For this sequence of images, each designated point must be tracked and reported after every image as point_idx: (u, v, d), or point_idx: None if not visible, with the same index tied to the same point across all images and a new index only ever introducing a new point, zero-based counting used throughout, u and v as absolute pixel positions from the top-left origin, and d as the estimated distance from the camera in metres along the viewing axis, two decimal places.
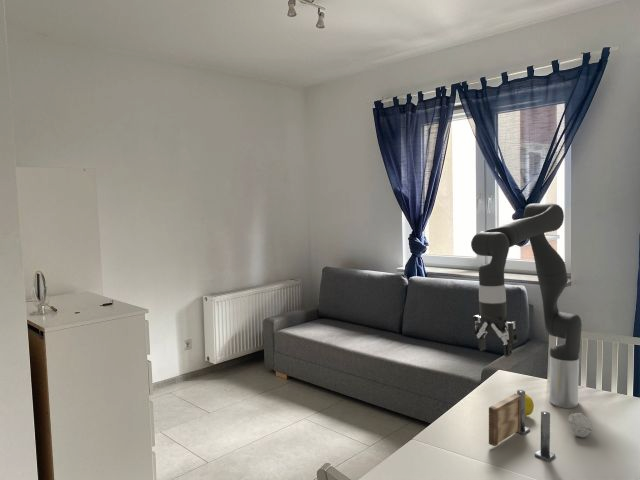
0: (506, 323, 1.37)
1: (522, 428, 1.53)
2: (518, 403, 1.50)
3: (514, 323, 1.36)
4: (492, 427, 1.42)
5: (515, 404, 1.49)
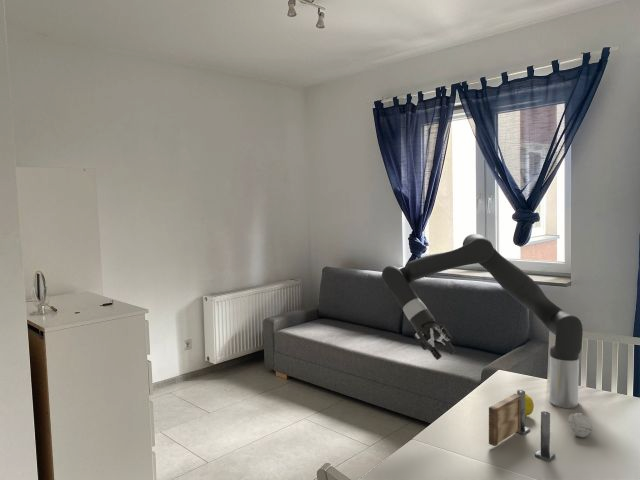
0: None
1: (522, 428, 1.53)
2: (518, 403, 1.50)
3: (417, 333, 1.57)
4: (492, 427, 1.42)
5: (515, 404, 1.49)
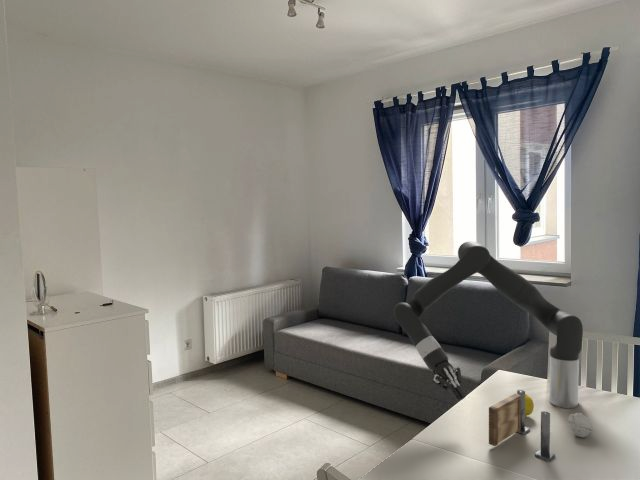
0: None
1: (522, 428, 1.53)
2: (518, 403, 1.50)
3: (435, 379, 1.54)
4: (492, 427, 1.42)
5: (515, 404, 1.49)
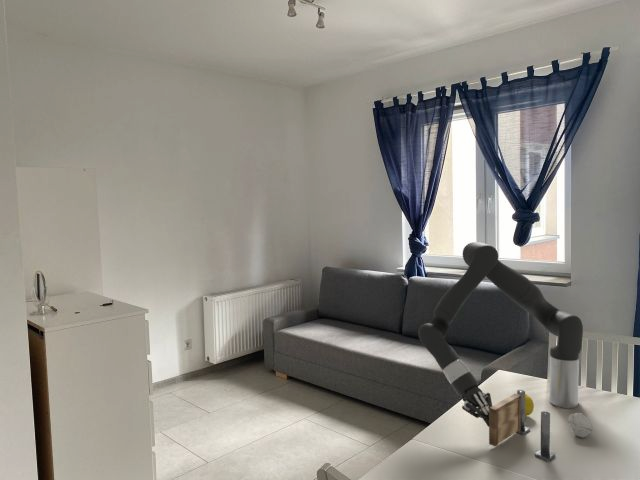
0: None
1: (522, 428, 1.53)
2: (518, 403, 1.50)
3: (466, 406, 1.46)
4: (493, 428, 1.42)
5: (515, 404, 1.49)
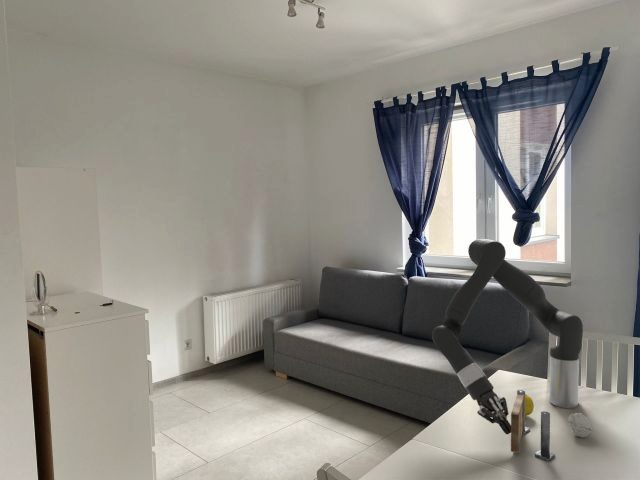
0: None
1: None
2: (522, 403, 1.50)
3: (481, 411, 1.42)
4: (516, 434, 1.38)
5: None
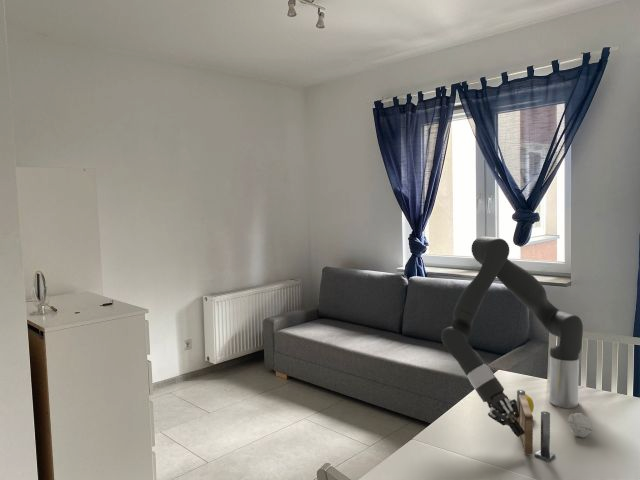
0: None
1: None
2: None
3: (492, 413, 1.41)
4: (530, 436, 1.37)
5: None
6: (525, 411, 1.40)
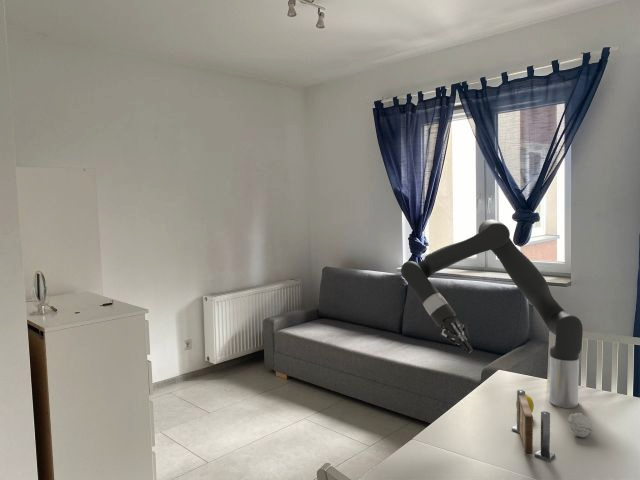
0: None
1: None
2: None
3: (443, 333, 1.57)
4: (530, 436, 1.37)
5: None
6: (525, 411, 1.40)
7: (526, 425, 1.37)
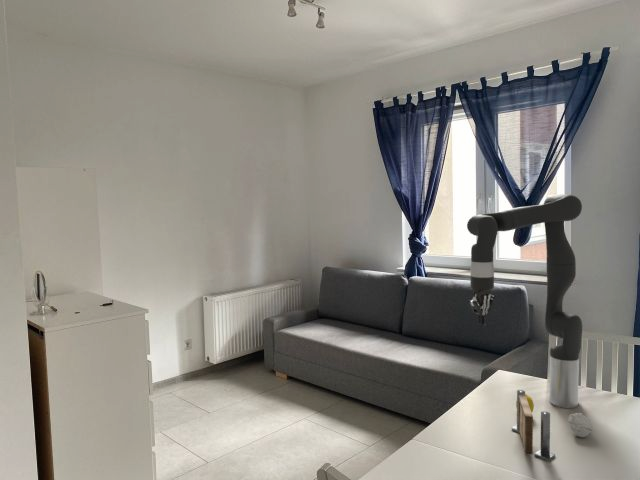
0: None
1: None
2: None
3: (472, 303, 1.57)
4: (530, 436, 1.37)
5: None
6: (525, 411, 1.40)
7: (526, 425, 1.37)
